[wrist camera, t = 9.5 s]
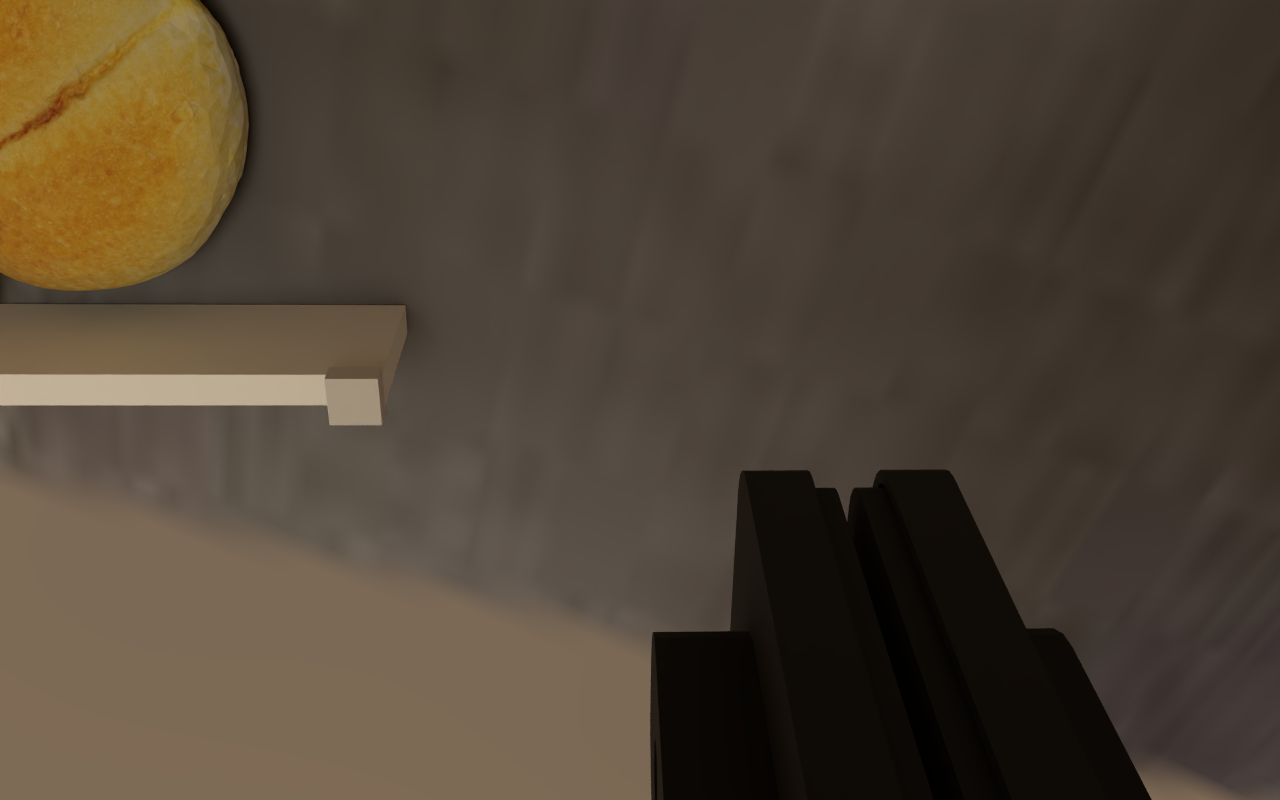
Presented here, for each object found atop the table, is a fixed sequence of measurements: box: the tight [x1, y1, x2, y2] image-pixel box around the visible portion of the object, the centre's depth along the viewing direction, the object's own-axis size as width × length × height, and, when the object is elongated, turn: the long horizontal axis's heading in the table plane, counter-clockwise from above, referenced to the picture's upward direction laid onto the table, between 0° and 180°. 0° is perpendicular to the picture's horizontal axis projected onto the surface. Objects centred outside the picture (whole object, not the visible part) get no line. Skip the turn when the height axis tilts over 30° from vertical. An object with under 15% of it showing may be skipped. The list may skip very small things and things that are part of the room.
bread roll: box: [0, 0, 249, 291], centre depth 27 cm, size 8×9×4 cm
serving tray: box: [0, 304, 407, 425], centre depth 26 cm, size 15×14×5 cm
